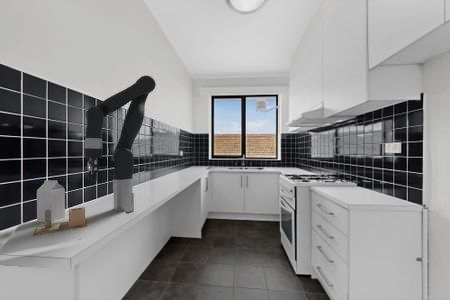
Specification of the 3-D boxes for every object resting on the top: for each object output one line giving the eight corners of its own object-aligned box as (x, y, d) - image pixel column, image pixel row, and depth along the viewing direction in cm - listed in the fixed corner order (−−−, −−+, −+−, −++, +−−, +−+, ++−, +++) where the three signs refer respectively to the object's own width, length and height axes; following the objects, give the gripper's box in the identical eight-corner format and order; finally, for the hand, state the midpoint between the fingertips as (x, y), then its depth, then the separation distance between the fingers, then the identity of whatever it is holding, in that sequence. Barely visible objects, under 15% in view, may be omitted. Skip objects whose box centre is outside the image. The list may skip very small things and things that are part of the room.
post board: (86, 221, 100) (86, 201, 100) (87, 229, 90) (87, 207, 90) (37, 229, 91) (37, 207, 91) (32, 240, 80) (32, 214, 80)
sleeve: (84, 220, 97) (84, 207, 97) (85, 224, 92) (85, 209, 92) (69, 223, 94) (68, 209, 94) (68, 226, 89) (68, 212, 89)
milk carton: (50, 225, 96) (49, 181, 96) (36, 224, 97) (36, 181, 97) (65, 220, 103) (64, 179, 103) (52, 219, 104) (52, 179, 104)
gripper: (105, 147, 105) (104, 182, 105) (99, 148, 116) (98, 179, 116) (86, 147, 100) (85, 183, 100) (82, 147, 111) (81, 180, 111)
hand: (92, 181), depth 108 cm, fingers open, 8 cm apart
